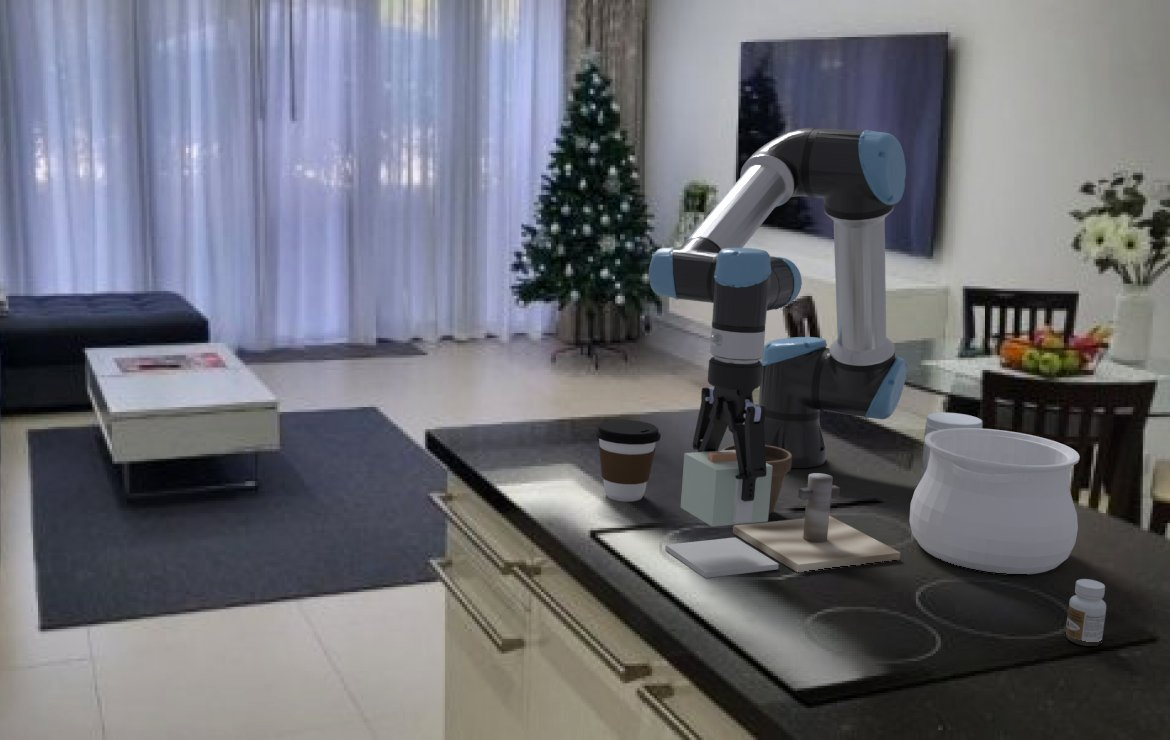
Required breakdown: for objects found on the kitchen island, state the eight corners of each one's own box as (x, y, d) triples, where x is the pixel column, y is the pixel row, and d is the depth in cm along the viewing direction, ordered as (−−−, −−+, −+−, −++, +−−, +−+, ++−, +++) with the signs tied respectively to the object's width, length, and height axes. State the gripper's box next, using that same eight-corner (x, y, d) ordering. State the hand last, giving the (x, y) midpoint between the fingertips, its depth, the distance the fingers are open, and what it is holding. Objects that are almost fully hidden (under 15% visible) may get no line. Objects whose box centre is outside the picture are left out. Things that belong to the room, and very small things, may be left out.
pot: (1051, 595, 179) (1066, 480, 176) (883, 557, 192) (894, 448, 188) (1088, 548, 200) (1102, 444, 197) (934, 516, 213) (945, 418, 210)
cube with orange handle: (734, 502, 191) (739, 442, 189) (767, 521, 183) (773, 459, 181) (680, 507, 187) (684, 446, 186) (712, 526, 179) (716, 463, 177)
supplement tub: (986, 504, 221) (996, 422, 218) (949, 511, 216) (959, 427, 213) (943, 489, 229) (952, 409, 226) (906, 496, 224) (914, 414, 221)
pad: (665, 549, 189) (665, 544, 189) (735, 542, 194) (735, 537, 194) (705, 577, 179) (705, 572, 179) (778, 569, 184) (778, 563, 184)
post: (732, 532, 199) (738, 464, 197) (829, 522, 206) (835, 457, 204) (797, 572, 183) (804, 498, 181) (899, 560, 190) (906, 489, 188)
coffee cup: (670, 497, 215) (674, 428, 213) (627, 510, 207) (631, 438, 205) (621, 483, 223) (625, 415, 220) (578, 494, 215) (581, 424, 212)
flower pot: (708, 515, 207) (713, 455, 205) (726, 496, 218) (730, 439, 216) (779, 526, 203) (784, 465, 201) (793, 507, 214) (798, 448, 212)
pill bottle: (1058, 633, 165) (1066, 577, 164) (1091, 634, 166) (1099, 577, 164) (1074, 647, 161) (1081, 589, 160) (1107, 648, 162) (1115, 590, 160)
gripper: (675, 345, 189) (665, 491, 193) (754, 374, 169) (741, 537, 174) (719, 343, 192) (708, 487, 196) (801, 373, 172) (787, 532, 177)
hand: (724, 510), depth 185 cm, fingers closed on cube with orange handle, 9 cm apart
